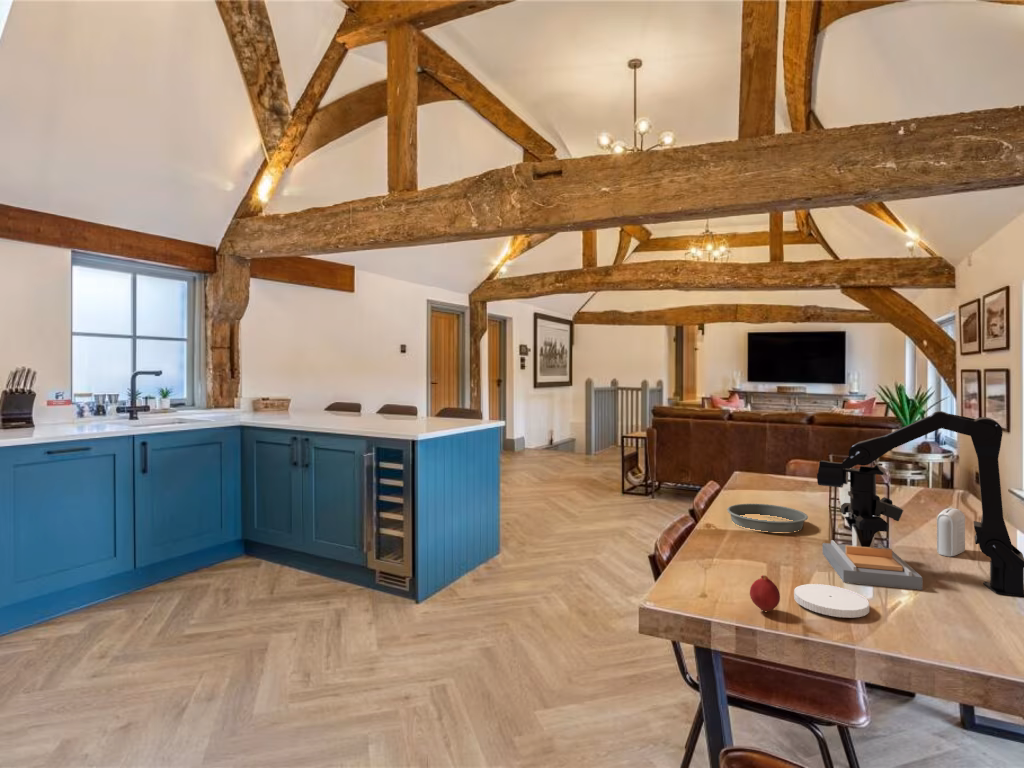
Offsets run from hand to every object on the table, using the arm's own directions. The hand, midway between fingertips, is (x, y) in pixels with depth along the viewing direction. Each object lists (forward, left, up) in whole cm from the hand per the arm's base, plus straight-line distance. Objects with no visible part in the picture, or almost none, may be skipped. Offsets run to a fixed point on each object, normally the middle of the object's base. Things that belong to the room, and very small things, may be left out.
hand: (863, 548), depth 141 cm
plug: (0, 0, -2) cm, 2 cm away
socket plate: (-4, 0, -4) cm, 6 cm away
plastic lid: (-31, +14, -5) cm, 34 cm away
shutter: (-8, 0, -1) cm, 8 cm away
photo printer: (+18, -26, -4) cm, 32 cm away
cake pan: (+35, +19, -5) cm, 40 cm away
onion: (-38, +28, -4) cm, 47 cm away
